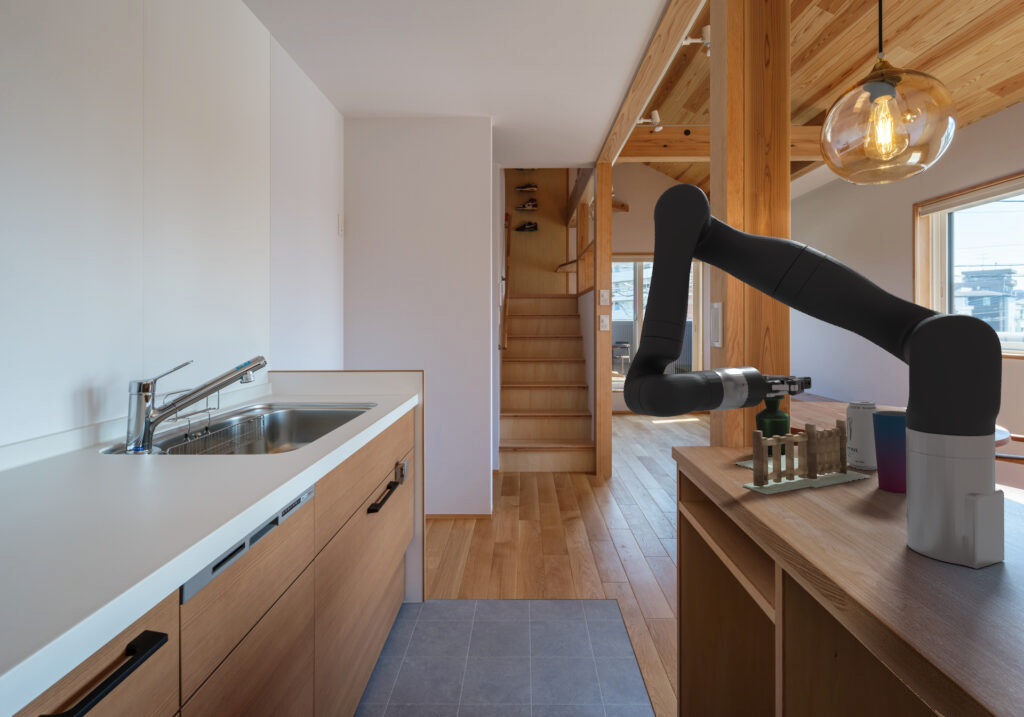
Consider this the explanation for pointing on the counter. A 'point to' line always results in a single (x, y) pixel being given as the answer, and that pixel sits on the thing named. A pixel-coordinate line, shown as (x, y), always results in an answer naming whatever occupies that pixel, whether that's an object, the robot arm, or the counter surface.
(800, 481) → the board
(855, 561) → the counter surface
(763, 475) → the swing panel
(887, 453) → the cup
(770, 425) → the potion bottle
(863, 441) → the energy drink can
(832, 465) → the fixed fence panel
